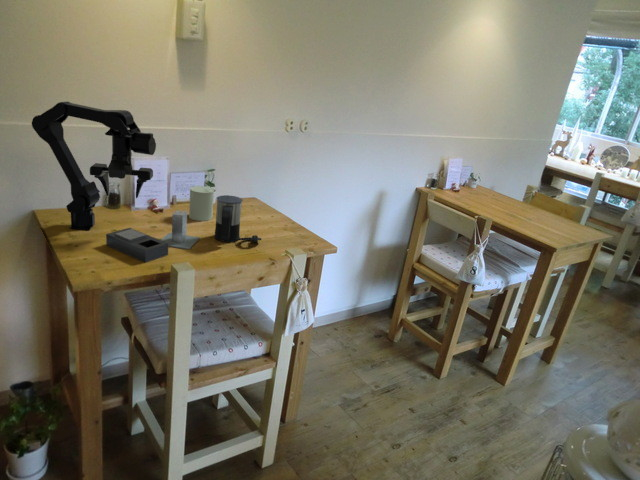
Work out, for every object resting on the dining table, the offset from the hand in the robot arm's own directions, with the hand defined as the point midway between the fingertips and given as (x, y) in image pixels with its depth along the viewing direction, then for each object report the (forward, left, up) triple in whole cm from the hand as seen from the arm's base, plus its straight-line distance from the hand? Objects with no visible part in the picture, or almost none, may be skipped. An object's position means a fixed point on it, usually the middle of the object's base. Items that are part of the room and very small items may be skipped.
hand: (122, 196), depth 163 cm
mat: (+19, -4, -13) cm, 24 cm away
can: (+24, +23, -13) cm, 36 cm away
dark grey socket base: (+8, -14, -13) cm, 21 cm away
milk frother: (+39, +1, -13) cm, 41 cm away
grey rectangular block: (+19, -4, -13) cm, 23 cm away
